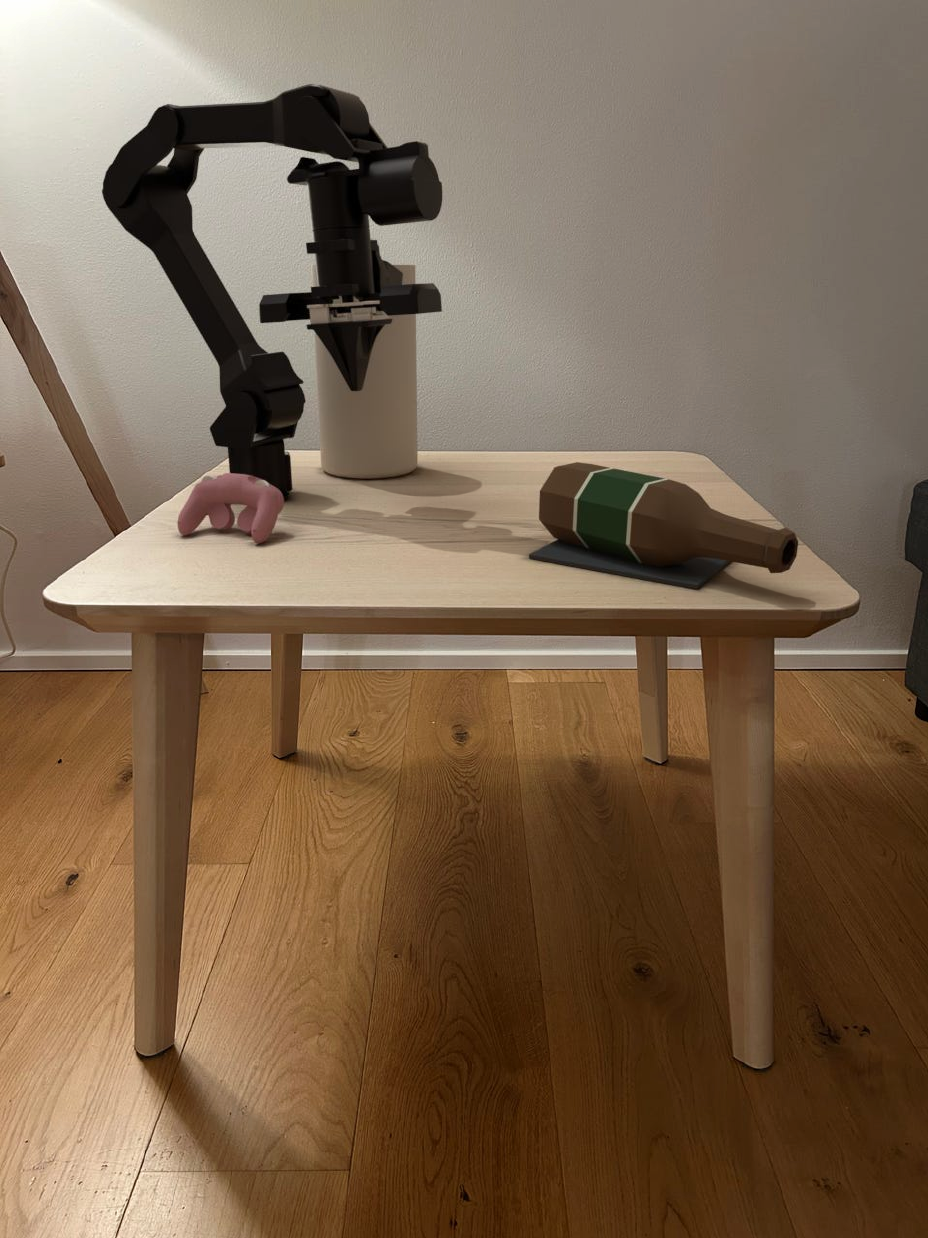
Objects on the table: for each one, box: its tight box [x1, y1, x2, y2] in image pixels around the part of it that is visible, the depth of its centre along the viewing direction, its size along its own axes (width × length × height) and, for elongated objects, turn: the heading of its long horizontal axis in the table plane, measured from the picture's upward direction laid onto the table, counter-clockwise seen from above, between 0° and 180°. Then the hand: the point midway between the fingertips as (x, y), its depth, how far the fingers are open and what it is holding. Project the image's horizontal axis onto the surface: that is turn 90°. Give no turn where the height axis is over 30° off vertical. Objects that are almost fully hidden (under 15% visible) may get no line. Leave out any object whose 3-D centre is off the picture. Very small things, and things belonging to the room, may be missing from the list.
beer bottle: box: [538, 461, 800, 574], centre depth 83 cm, size 8×8×24 cm
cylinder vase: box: [310, 263, 419, 480], centre depth 118 cm, size 12×12×25 cm
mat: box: [528, 539, 732, 590], centre depth 87 cm, size 16×12×1 cm
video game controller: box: [176, 472, 285, 545], centre depth 93 cm, size 10×5×7 cm, turn 71°
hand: (356, 390), depth 98 cm, fingers closed
